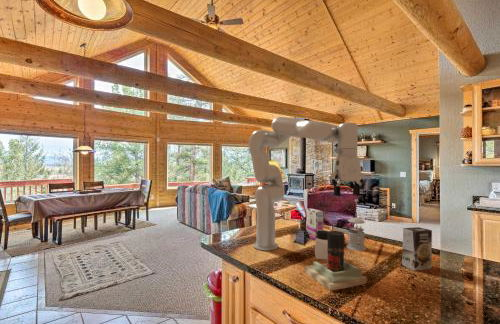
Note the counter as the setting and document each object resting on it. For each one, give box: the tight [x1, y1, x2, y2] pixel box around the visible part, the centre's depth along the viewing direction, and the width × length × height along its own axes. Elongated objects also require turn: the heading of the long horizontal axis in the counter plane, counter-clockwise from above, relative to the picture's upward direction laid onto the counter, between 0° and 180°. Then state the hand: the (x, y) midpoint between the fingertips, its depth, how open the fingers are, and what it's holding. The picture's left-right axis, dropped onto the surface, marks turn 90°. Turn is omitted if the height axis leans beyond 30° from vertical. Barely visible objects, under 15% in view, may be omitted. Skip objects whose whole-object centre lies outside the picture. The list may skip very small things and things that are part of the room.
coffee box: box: [401, 226, 433, 271], centre depth 107 cm, size 9×6×16 cm
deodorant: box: [326, 230, 345, 272], centre depth 96 cm, size 6×6×15 cm
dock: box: [303, 260, 368, 292], centre depth 96 cm, size 16×16×5 cm
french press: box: [345, 199, 367, 252], centre depth 130 cm, size 10×12×25 cm
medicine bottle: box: [314, 229, 329, 261], centre depth 117 cm, size 7×7×12 cm
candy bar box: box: [305, 208, 325, 241], centre depth 146 cm, size 11×5×16 cm, turn 17°
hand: (346, 195), depth 103 cm, fingers open, 9 cm apart
